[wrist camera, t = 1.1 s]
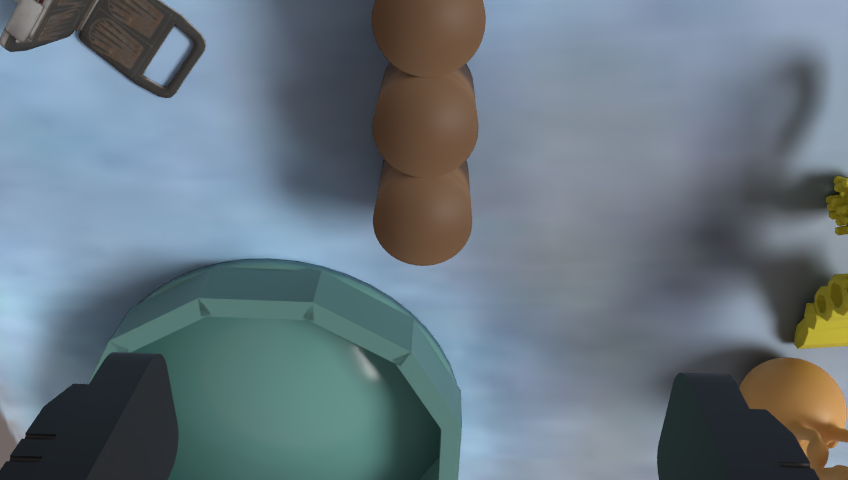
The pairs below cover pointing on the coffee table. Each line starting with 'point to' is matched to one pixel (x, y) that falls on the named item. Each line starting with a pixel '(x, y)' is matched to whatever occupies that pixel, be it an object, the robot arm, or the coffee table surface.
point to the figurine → (802, 407)
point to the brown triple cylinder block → (425, 126)
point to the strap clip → (106, 33)
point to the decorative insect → (829, 290)
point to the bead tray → (297, 376)
